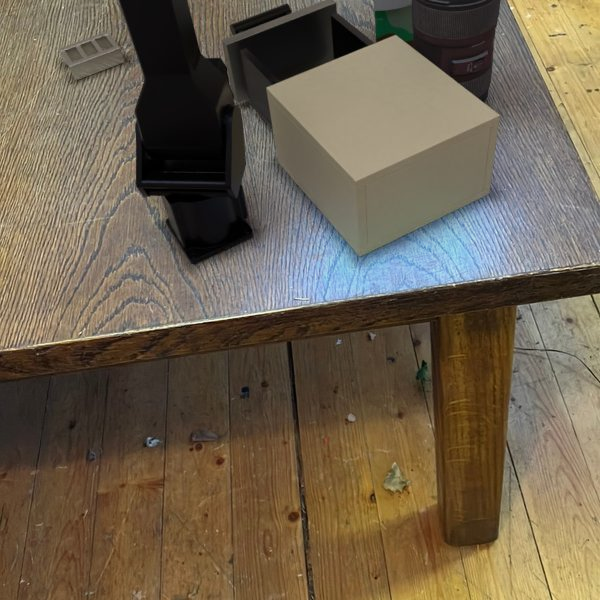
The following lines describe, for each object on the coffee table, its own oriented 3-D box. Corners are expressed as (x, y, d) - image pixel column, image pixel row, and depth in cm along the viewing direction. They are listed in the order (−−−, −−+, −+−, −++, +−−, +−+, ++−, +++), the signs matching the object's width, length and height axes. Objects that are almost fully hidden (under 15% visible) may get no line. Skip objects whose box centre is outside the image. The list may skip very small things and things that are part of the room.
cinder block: (75, 81, 87) (69, 66, 86) (64, 63, 90) (58, 48, 88) (125, 62, 89) (120, 47, 87) (112, 45, 92) (107, 30, 90)
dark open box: (213, 75, 83) (201, 18, 78) (312, 36, 86) (307, -21, 81) (296, 169, 71) (288, 109, 66) (407, 120, 75) (407, 59, 69)
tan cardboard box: (277, 162, 74) (265, 87, 67) (395, 111, 77) (395, 34, 70) (359, 257, 64) (355, 181, 58) (489, 194, 68) (500, 115, 61)
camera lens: (496, 90, 78) (512, -50, 66) (478, 137, 73) (492, -5, 62) (422, 80, 80) (425, -57, 69) (401, 125, 76) (400, -13, 64)
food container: (430, 79, 80) (434, -8, 72) (375, 77, 81) (373, -8, 74) (440, 19, 88) (444, -66, 80) (389, 18, 89) (388, -65, 81)
